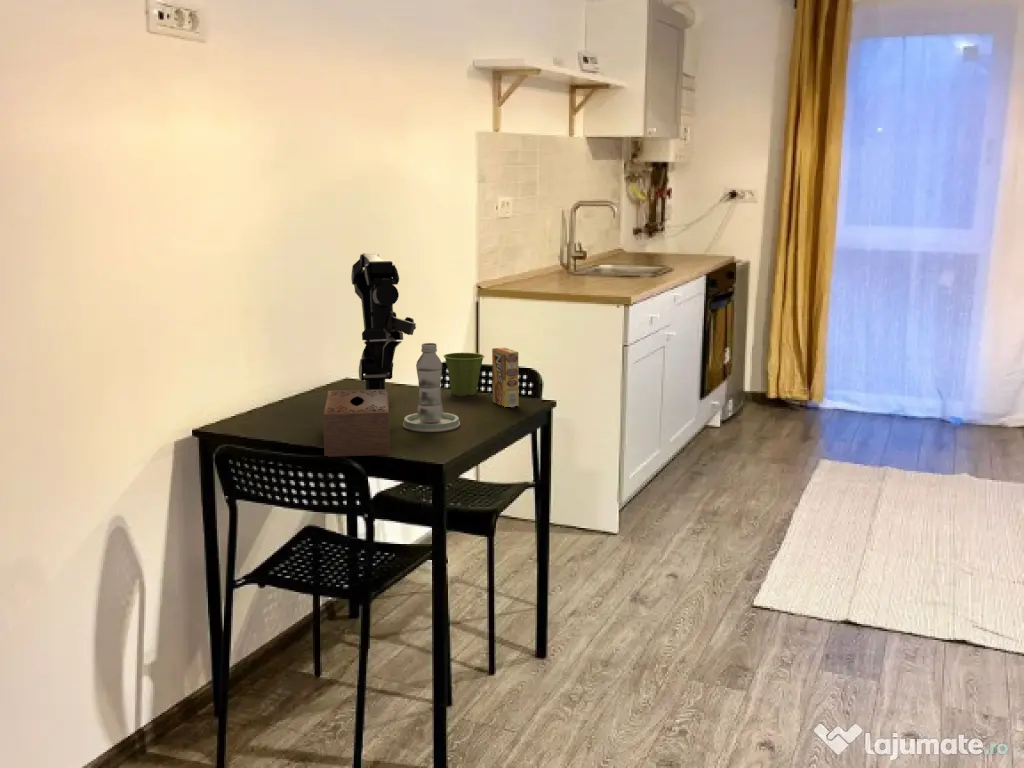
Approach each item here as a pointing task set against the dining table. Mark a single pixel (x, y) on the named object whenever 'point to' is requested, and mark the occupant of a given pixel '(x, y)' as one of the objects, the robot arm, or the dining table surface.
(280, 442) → the dining table surface
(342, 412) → the tissue box cover
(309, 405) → the dining table surface
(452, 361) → the plant pot
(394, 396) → the dining table surface
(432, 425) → the round tray
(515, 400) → the candy box
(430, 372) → the plastic bottle
